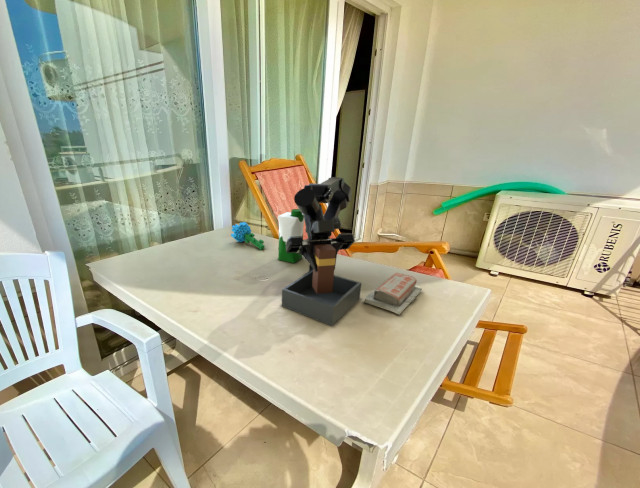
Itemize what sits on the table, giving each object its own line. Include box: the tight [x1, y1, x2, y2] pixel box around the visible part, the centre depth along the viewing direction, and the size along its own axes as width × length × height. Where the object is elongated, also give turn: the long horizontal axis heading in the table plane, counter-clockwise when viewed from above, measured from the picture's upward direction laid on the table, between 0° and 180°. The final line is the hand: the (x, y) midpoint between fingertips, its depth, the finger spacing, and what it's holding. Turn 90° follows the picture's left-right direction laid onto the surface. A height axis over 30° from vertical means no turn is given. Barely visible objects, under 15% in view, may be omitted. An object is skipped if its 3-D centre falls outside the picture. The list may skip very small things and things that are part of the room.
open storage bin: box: [281, 270, 362, 327], centre depth 88 cm, size 18×16×6 cm
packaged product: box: [363, 272, 423, 315], centre depth 89 cm, size 18×5×10 cm
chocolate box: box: [312, 244, 337, 294], centre depth 85 cm, size 5×5×13 cm
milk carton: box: [277, 208, 305, 264], centre depth 118 cm, size 9×9×20 cm
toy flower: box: [230, 221, 266, 250], centre depth 137 cm, size 9×9×18 cm
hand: (325, 270), depth 84 cm, fingers closed on chocolate box, 4 cm apart
